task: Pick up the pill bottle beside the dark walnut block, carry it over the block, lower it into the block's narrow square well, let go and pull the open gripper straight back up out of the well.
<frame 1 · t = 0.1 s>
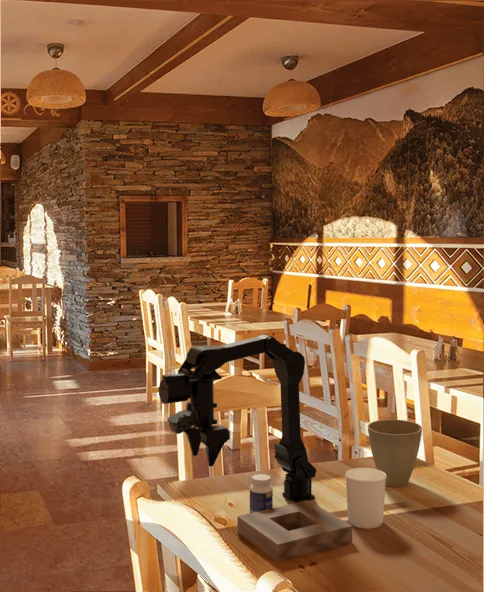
hand: (202, 460, 192), 15 cm above the table, fingers open, 9 cm apart
candle holder: (365, 522, 191), on the table
pill bottle: (261, 516, 195), on the table
well block: (293, 537, 182), on the table
plant pot: (393, 483, 218), on the table
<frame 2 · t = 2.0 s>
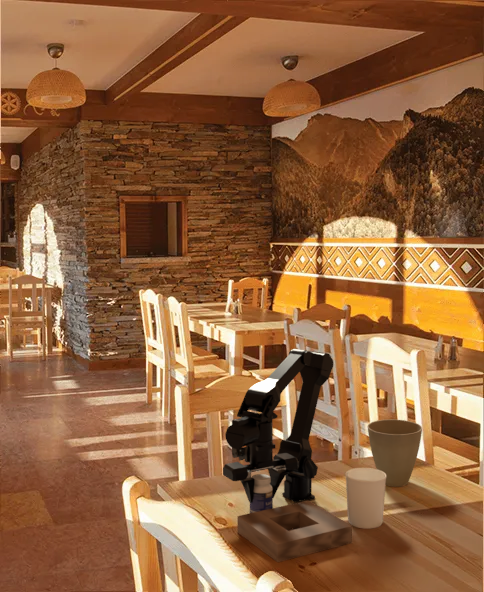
hand: (261, 499, 195), 4 cm above the table, fingers closed on pill bottle, 6 cm apart
pill bottle: (261, 516, 195), on the table, touching gripper
everything else where it was.
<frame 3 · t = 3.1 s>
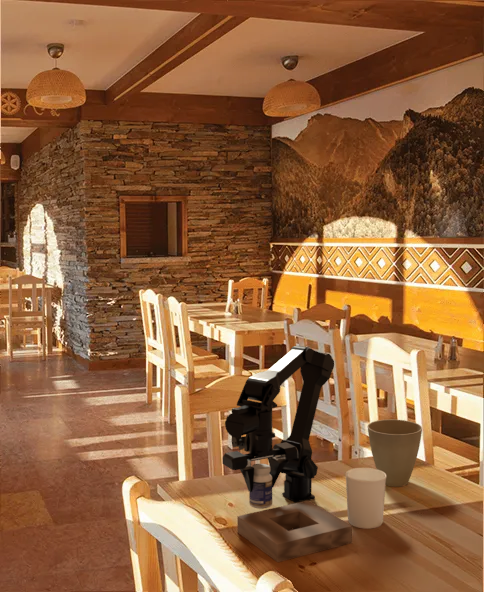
hand: (260, 489, 194), 7 cm above the table, fingers closed on pill bottle, 6 cm apart
pill bottle: (260, 505, 195), point 3 cm above the table, touching gripper
everything else where it was.
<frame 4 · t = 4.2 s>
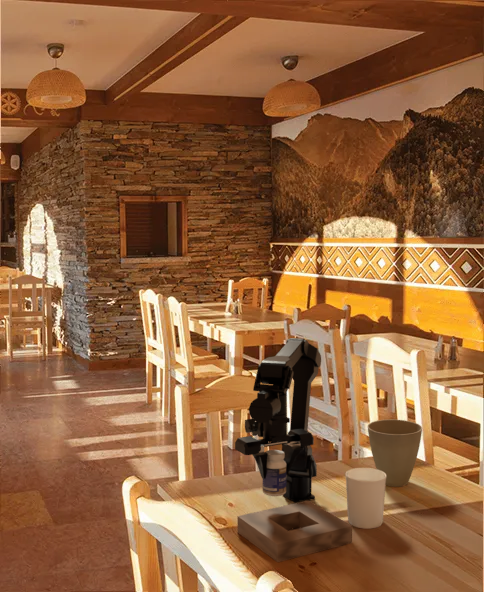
hand: (274, 476, 187), 12 cm above the table, fingers closed on pill bottle, 6 cm apart
pill bottle: (274, 493, 188), point 8 cm above the table, touching gripper
everything else where it was.
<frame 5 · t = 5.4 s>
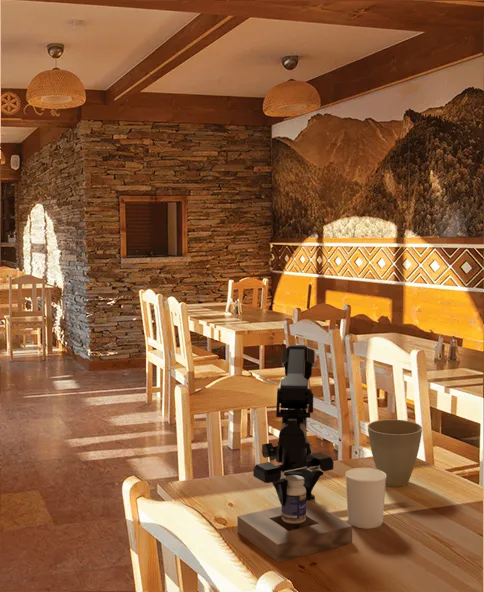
hand: (294, 502, 181), 8 cm above the table, fingers closed on pill bottle, 6 cm apart
pill bottle: (293, 520, 182), point 4 cm above the table, touching gripper
everything else where it was.
when the fingers open (5 cm above the table, at t = 6.3 s): pill bottle drops 1 cm, resting in well block.
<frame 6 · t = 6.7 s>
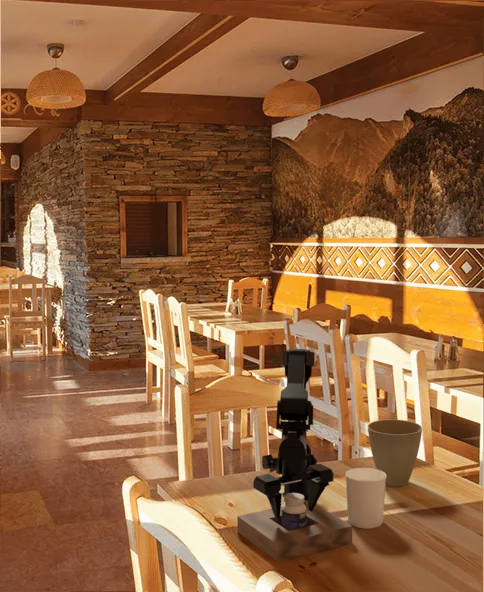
hand: (293, 514, 181), 5 cm above the table, fingers open, 9 cm apart
pill bottle: (293, 538, 182), resting in well block
everything else where it was.
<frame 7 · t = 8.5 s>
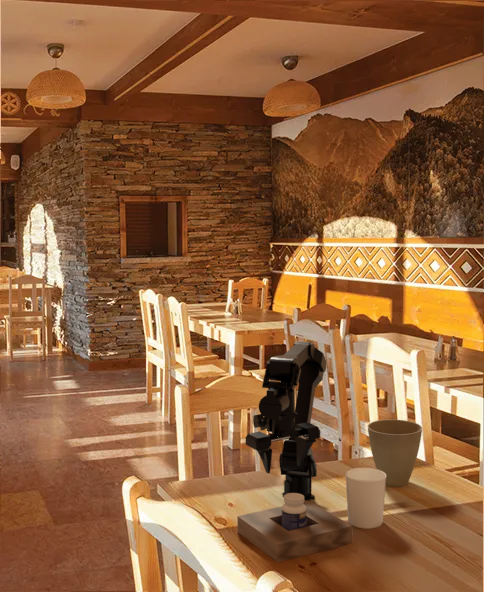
hand: (283, 469, 194), 12 cm above the table, fingers open, 9 cm apart
nothing on the table moved.
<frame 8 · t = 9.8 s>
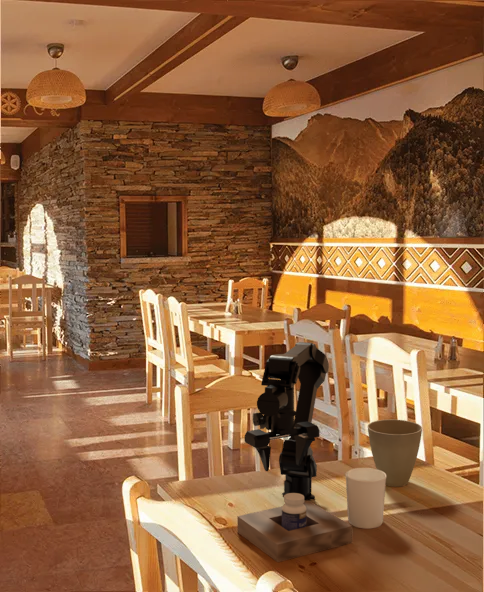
hand: (282, 467, 194), 12 cm above the table, fingers open, 9 cm apart
nothing on the table moved.
at the end: pill bottle 0.1 cm off-centre on the well block, point 0.0 cm above the well block's base; pill bottle tilted 0°; the gripper is holding nothing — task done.
